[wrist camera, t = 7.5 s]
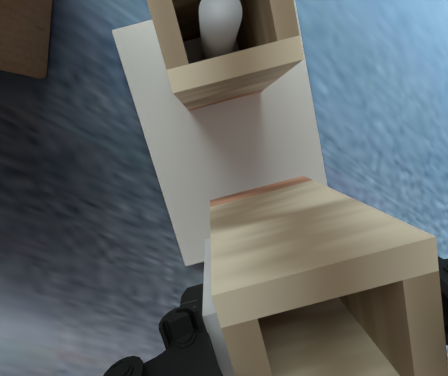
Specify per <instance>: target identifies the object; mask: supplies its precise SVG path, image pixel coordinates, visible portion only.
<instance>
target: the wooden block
mask: <svg viewBox="0 0 448 376" xmlns="http://www.w3.org/2000/svg"><path fill="white" fill-rule="evenodd" d="M51 12H52V0H0V70H3V71H7V72H12V73H16V74H21V75H25V76H30V77H34V78H44V77H45V76H46V74H47V63H48V50H49V37H50V25H51Z"/></svg>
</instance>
